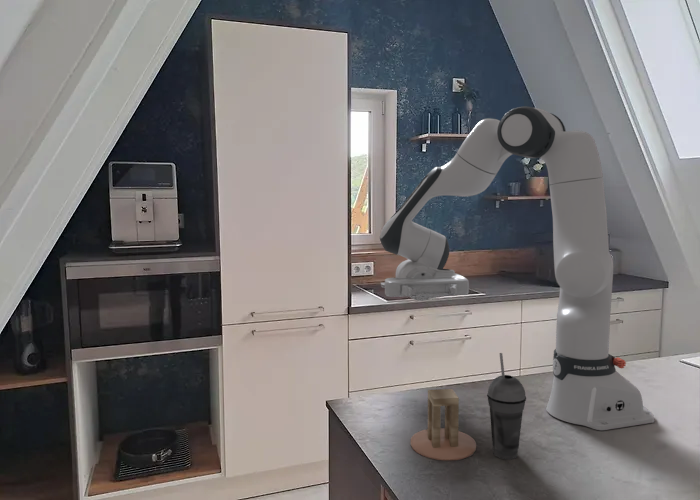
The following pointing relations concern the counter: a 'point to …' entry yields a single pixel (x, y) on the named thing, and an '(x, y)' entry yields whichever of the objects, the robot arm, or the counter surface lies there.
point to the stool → (451, 416)
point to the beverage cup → (506, 413)
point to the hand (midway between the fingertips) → (433, 292)
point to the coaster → (443, 446)
